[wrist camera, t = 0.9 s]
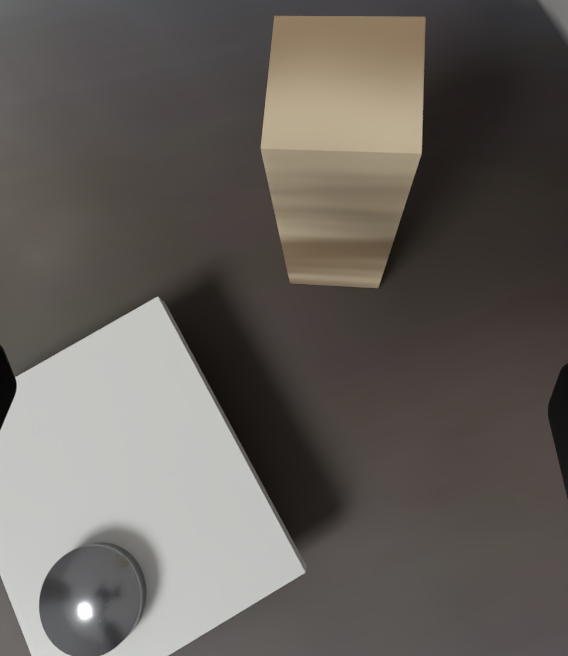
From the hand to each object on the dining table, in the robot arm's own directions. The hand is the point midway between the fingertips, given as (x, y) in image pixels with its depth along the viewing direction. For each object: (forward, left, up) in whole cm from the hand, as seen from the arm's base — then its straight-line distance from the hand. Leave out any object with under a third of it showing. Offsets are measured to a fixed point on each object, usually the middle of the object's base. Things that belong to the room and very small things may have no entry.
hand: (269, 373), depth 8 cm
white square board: (+1, +8, -14) cm, 16 cm away
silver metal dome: (-2, +10, -12) cm, 15 cm away
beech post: (+6, -5, -14) cm, 17 cm away
